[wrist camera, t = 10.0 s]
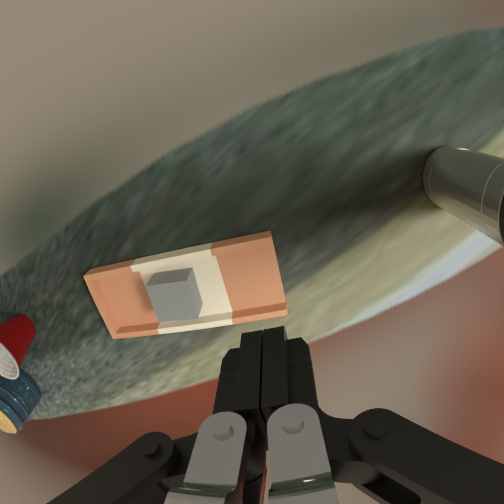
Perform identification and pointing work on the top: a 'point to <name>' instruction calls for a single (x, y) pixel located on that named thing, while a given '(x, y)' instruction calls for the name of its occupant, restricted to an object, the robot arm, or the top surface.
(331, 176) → the top surface
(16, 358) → the plastic cup
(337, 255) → the top surface
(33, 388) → the canister
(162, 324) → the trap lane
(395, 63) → the top surface
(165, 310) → the slate block
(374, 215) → the top surface
